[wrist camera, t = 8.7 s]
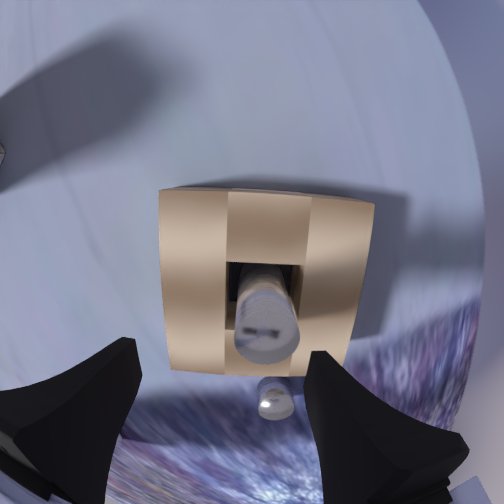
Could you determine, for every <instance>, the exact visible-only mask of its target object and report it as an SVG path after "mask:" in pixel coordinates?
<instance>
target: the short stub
mask: <svg viewBox="0 0 504 504" xmlns="http://www.w3.org/2000/svg"><path fill="white" fill-rule="evenodd" d="M258 411H259V414H260V415H261V416H262V417H263V418H265V419H268V420H281V419H284V418H287V417H288V416H290V415H291V414H292V413H293V411H294V402H293V396H292V390H291V385H290V382H289V380H288V379H287V378H285V377H283V376H268V377H265V378H264V379H262V380H261V381H260V382H259V384H258Z"/></svg>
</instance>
